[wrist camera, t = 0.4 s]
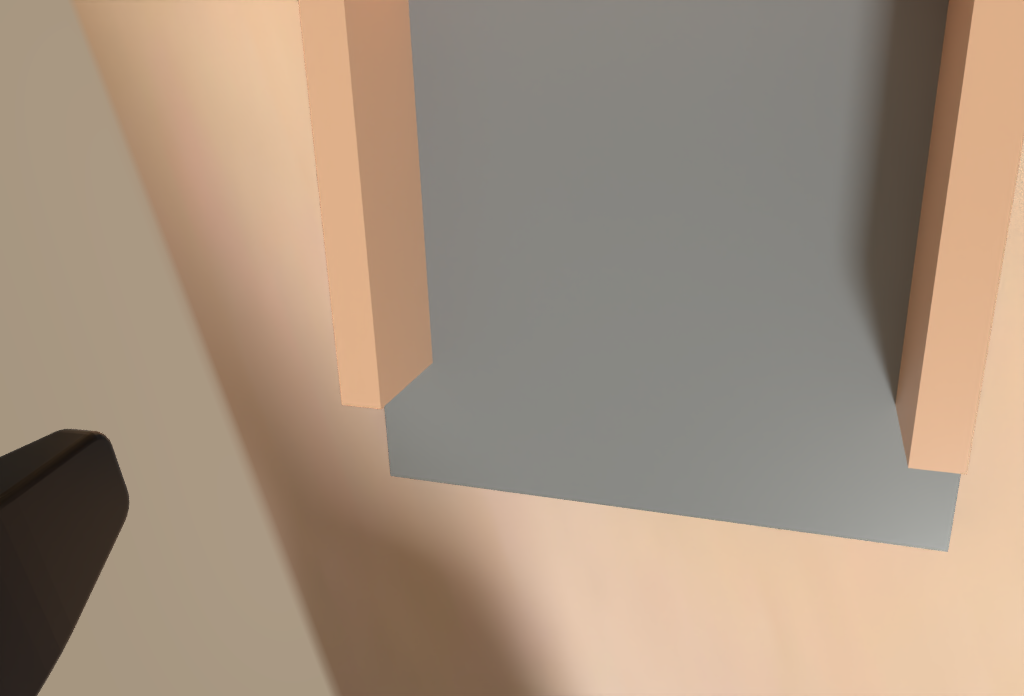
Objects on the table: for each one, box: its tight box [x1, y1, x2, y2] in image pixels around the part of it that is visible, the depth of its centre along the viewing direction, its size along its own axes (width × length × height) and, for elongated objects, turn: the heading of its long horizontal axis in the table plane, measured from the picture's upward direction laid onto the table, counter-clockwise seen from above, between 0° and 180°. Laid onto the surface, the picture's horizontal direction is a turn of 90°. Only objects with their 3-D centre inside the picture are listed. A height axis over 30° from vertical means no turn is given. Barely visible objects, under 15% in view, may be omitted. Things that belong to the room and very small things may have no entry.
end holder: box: [298, 0, 1024, 552], centre depth 18 cm, size 16×14×4 cm
